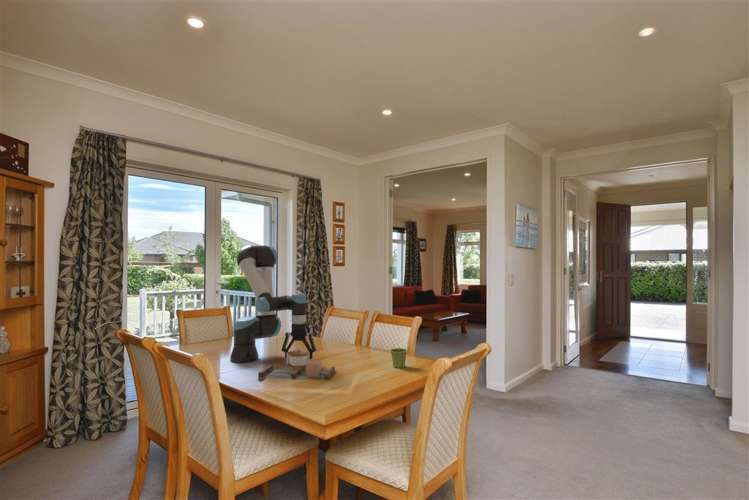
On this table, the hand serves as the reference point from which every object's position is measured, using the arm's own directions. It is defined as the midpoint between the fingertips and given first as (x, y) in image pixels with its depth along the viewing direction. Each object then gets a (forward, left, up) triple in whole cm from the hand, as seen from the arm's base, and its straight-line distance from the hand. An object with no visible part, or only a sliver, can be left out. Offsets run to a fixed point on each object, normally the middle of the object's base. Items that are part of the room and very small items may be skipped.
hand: (298, 365), depth 215 cm
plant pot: (-7, +52, -1) cm, 52 cm away
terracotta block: (+18, +13, 0) cm, 22 cm away
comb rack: (+18, +5, -1) cm, 19 cm away
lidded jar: (0, 0, -1) cm, 1 cm away
